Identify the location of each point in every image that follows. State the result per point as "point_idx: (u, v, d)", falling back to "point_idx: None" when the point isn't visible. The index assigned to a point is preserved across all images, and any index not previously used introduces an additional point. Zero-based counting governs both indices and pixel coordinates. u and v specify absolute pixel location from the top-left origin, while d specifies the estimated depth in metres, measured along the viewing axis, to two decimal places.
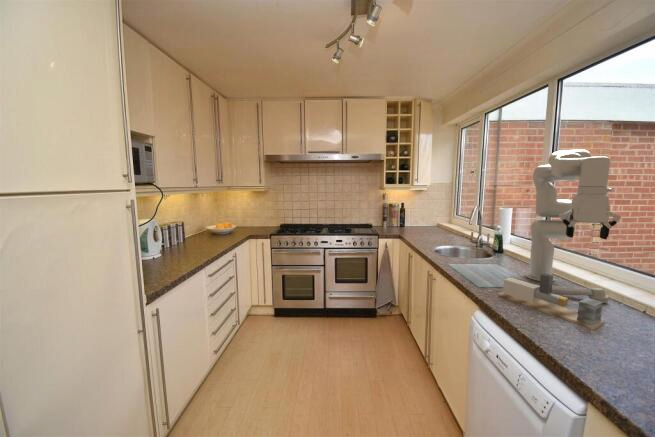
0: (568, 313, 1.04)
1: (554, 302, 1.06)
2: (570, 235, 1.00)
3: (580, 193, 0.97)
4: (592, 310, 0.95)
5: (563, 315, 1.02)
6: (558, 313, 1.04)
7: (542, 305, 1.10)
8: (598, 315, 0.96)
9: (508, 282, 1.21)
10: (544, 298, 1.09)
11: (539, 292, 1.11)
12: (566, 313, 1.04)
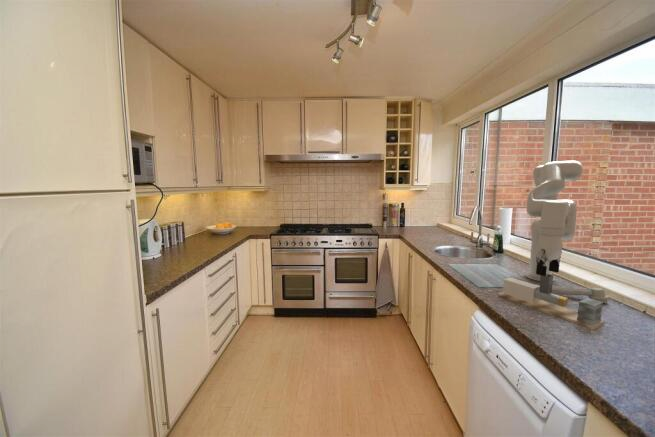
0: (568, 313, 1.04)
1: (554, 302, 1.06)
2: (543, 274, 1.05)
3: (549, 234, 1.04)
4: (592, 310, 0.95)
5: (563, 315, 1.02)
6: (558, 313, 1.04)
7: (542, 305, 1.10)
8: (598, 315, 0.96)
9: (508, 282, 1.21)
10: (544, 298, 1.09)
11: (539, 292, 1.11)
12: (566, 313, 1.04)
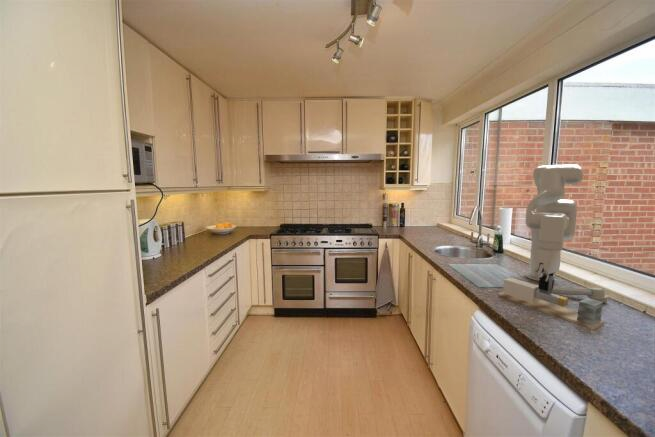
0: (568, 313, 1.04)
1: (554, 302, 1.06)
2: (546, 289, 1.08)
3: (548, 248, 1.05)
4: (592, 310, 0.95)
5: (563, 315, 1.02)
6: (558, 313, 1.04)
7: (542, 305, 1.10)
8: (598, 315, 0.96)
9: (508, 282, 1.21)
10: (544, 298, 1.09)
11: (539, 292, 1.11)
12: (566, 313, 1.04)
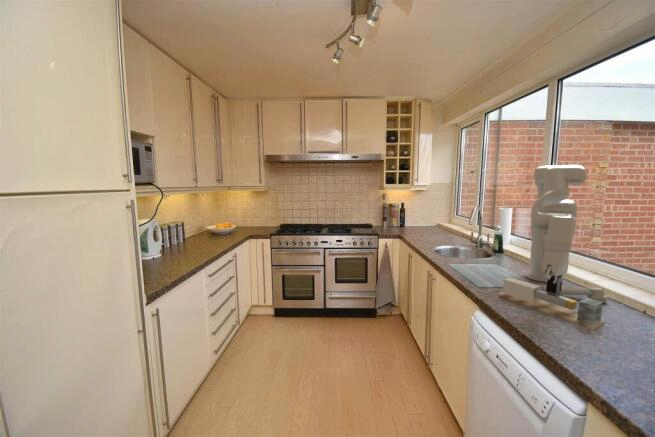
0: (568, 313, 1.04)
1: (562, 305, 1.04)
2: (554, 291, 1.06)
3: (556, 250, 1.03)
4: (592, 310, 0.95)
5: (563, 315, 1.02)
6: (558, 313, 1.04)
7: (542, 305, 1.10)
8: (598, 315, 0.96)
9: (508, 282, 1.21)
10: (552, 301, 1.07)
11: (547, 294, 1.08)
12: (566, 313, 1.04)
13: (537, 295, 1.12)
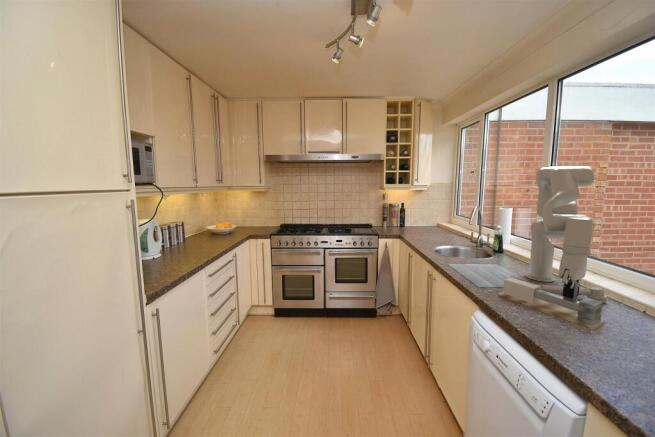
0: (568, 313, 1.04)
1: None
2: (571, 296, 1.01)
3: (574, 253, 0.98)
4: (592, 310, 0.95)
5: (563, 315, 1.02)
6: (558, 313, 1.04)
7: (542, 305, 1.10)
8: (598, 315, 0.96)
9: (508, 282, 1.21)
10: (569, 306, 1.02)
11: (563, 300, 1.04)
12: (566, 313, 1.04)
13: (552, 300, 1.07)
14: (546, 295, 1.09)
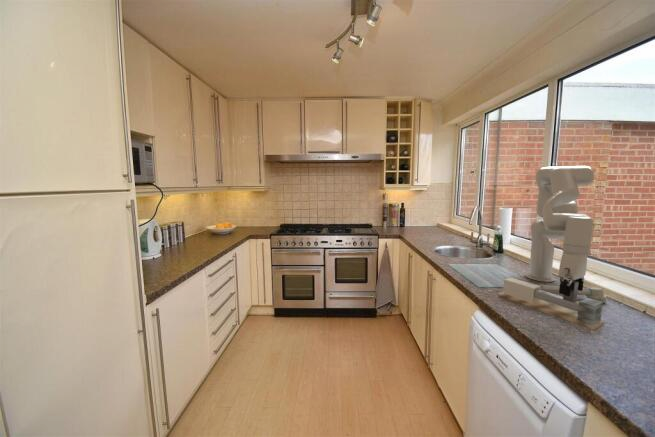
0: (568, 313, 1.04)
1: None
2: (568, 294, 0.99)
3: (574, 252, 0.98)
4: (592, 310, 0.95)
5: (563, 315, 1.02)
6: (558, 313, 1.04)
7: (542, 305, 1.10)
8: (598, 315, 0.96)
9: (508, 282, 1.21)
10: (568, 306, 1.02)
11: (563, 299, 1.04)
12: (566, 313, 1.04)
13: (552, 300, 1.07)
14: (546, 295, 1.09)
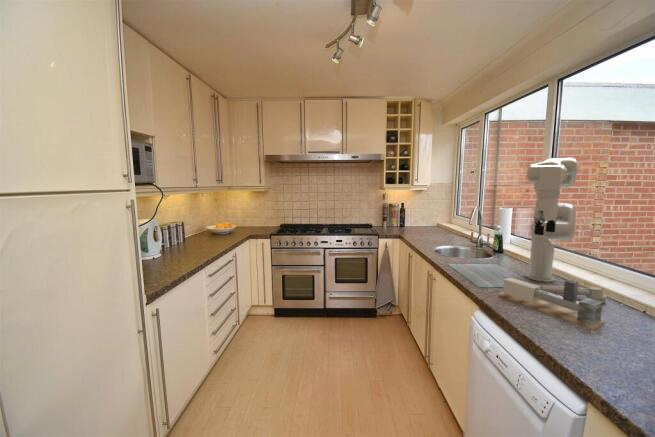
0: (568, 313, 1.04)
1: None
2: (541, 233, 1.15)
3: (547, 196, 1.13)
4: (592, 310, 0.95)
5: (563, 315, 1.02)
6: (558, 313, 1.04)
7: (542, 305, 1.10)
8: (598, 315, 0.96)
9: (508, 282, 1.21)
10: (568, 306, 1.02)
11: (563, 299, 1.04)
12: (566, 313, 1.04)
13: (552, 300, 1.07)
14: (546, 295, 1.09)
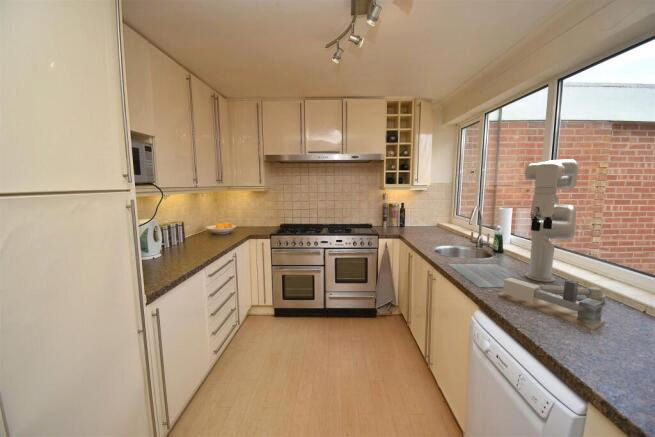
0: (568, 313, 1.04)
1: None
2: (538, 229, 1.17)
3: (543, 193, 1.15)
4: (592, 310, 0.95)
5: (563, 315, 1.02)
6: (558, 313, 1.04)
7: (542, 305, 1.10)
8: (598, 315, 0.96)
9: (508, 282, 1.21)
10: (568, 306, 1.02)
11: (563, 299, 1.04)
12: (566, 313, 1.04)
13: (552, 300, 1.07)
14: (546, 295, 1.09)
